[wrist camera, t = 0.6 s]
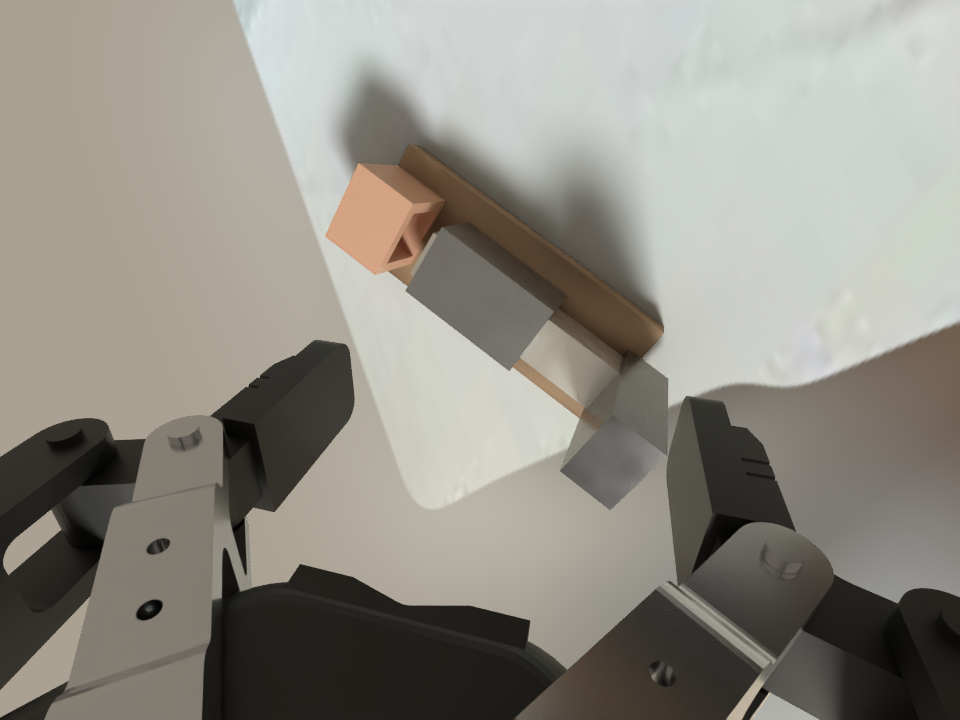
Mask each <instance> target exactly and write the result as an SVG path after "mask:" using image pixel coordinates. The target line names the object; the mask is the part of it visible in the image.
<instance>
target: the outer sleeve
mask: <svg viewBox="0 0 960 720" xmlns="http://www.w3.org/2000/svg"><path fill="white" fill-rule="evenodd" d="M406 292H407V293H409V294H410V295H411V296H413V297H414V298H415V299H417V300H418V301H419V302H420V303H422V304H423V305H424V306H426V307H427V308H428V309H429V310H431V311H432V312H433V313H435V314H436V315H437V316H439V317H440V318H441V319H442V320H444V321H445V322H446V323H448V324H449V325H450V326H452V327H453V328H454V329H455V330H457V331H458V332H459V333H461V334H462V335H463V336H465V337H466V338H467V339H468V340H470V341H471V342H472V343H474V344H475V345H476V346H477V347H479V348H480V349H481V350H483V351H484V352H485V353H487V354H488V355H489V356H490V357H492V358H493V359H494V360H496V361H497V362H498V363H500V364H501V365H502V366H503V367H505V368H506V369H507V370H509V371H510V370H511V368H512V367H513V366H514V365H515V364H516V363H517V361H518V360H519V359H520V356H521V355H522V354H523V352H524V351H525V350H526V348H527V347H528V346H529V344H530V343H531V342H532V341H533V339H534V338H535V337H536V335H537V334H538V333H539V331H540V330H541V329H542V327H543V326H544V325H545V323H546V322H547V321H548V319H549V318H550V317H551V316H552V314H553V313H554V312H555V311H556V310H557V309H558V308H559V307H560V306H561V305H562V303H563V302H564V301H565V299H566V298H567V297H568V295H566V294H565V293H564V292H562V291H561V290H560V289H558V288H557V287H556V286H554V285H553V284H551V283H550V282H549V281H547V280H546V279H545V278H543V277H542V276H541V275H539V274H538V273H537V272H535V271H534V270H533V269H531V268H530V267H529V266H527V265H526V264H525V263H523V262H522V261H521V260H519V259H518V258H517V257H515V256H514V255H513V254H511V253H510V252H509V251H507V250H506V249H505V248H503V247H502V246H501V245H499V244H498V243H497V242H495V241H494V240H493V239H491V238H490V237H489V236H487V235H486V234H485V233H483V232H482V231H481V230H479V229H478V228H477V227H475V226H474V225H473V224H471V223H470V222H465V223H460V224H455V225H450V226H445V227H442V228H441V230H440V231H439V233H438V235H437V236H436V238H435V240H434V242H433V243H432V245H431V247H430V249H429V250H428V252H427V254H426V256H425V257H424V259H423V261H422V263H421V264H420V266H419V268H418V270H417V271H416V273H415V275H414V277H413V278H412V280H411V282H410V284H409V285H408V287H407V289H406Z"/></svg>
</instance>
